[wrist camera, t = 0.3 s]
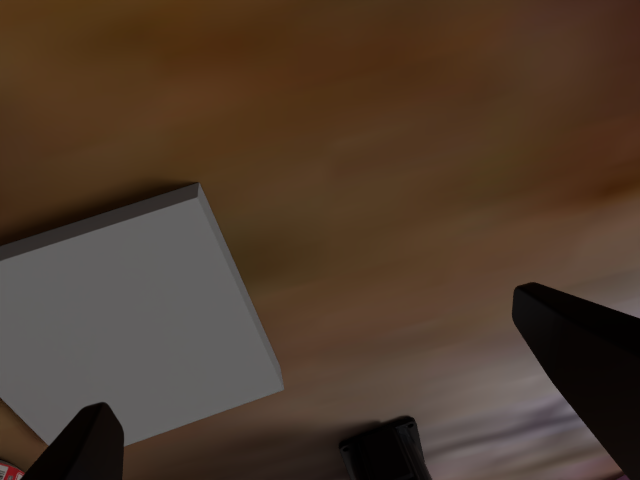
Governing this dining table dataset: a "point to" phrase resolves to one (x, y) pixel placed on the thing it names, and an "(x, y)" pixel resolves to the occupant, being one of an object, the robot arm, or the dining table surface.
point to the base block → (130, 321)
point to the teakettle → (623, 478)
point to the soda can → (9, 471)
